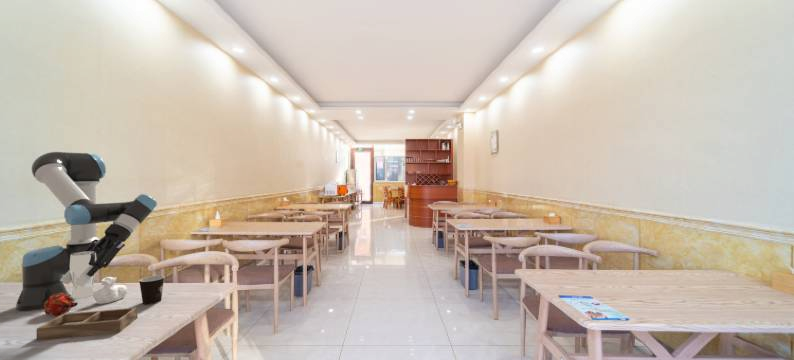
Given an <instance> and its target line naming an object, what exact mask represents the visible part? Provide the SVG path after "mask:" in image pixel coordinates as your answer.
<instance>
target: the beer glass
mask: <svg viewBox="0 0 794 360" xmlns="http://www.w3.org/2000/svg"><path fill="white" fill-rule="evenodd" d="M96 260H97V259H96V252H95V251H86V252H78V253H73V254H71V255H70V275H71V279H72V280H71V282H72V295H71V297H72V298H73V299H74V300H75V299H77V300H78V299H86V298H89V297H93V295H94V294H95V292H96V291H95V290H96V289H95V286H94V285H95V277H96V273H97V272H96V273H95V274H94V275H93V276H92V277H91V278H90V279H89V280H88V281H87V283H86V284H85V285H84V286H80V285H78V284H77V283H75V282H76V280H77V279H78V278H79V277H80V276H81V275H82V274H83V273H84V272H85V271H86V270H87V269H88V268H89V267H90V266H91V265H92V263H95V261H96ZM92 266H93V265H92Z"/></svg>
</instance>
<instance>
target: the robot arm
mask: <svg viewBox="0 0 794 360" xmlns="http://www.w3.org/2000/svg"><path fill="white" fill-rule="evenodd" d="M106 171H107V168H106V163H105V161H104V159H103V158H102V157H101V156H100V155H98V154H95V153H88V152H87V153H86V152H85V153H83V152H66V151H63V152H62V151H51V152H46V153H44V154H42V155H40V156H38V157H37V158H36V159H35V160H34V161H33V163H32V165H31V174H32V176H33V177H34V178H35V179H36V181H38V182H39V183H41V184H44V185H45V186H46V187H47V188H48V189H49V191H50V192H51V193H52V194H53V195H54V196H55V198H57V200H58V201H59V202H60V203H61V204H62V205H63V207H64V208H65V209H64V214H63V215H64V219H65V222H66V224H67V225H70V240H68V241H67V242H66V243H65V244H66V245H65V247H63V246H62V245H53V246H45V247H40V248H37V249H33V250H29V251H28V252H26V253H24V254H23V256H22V262H21V267H22V273H21V274H22V290H21V291H20V294H19V296H18V299H17V302H16V304H15V309H16V311H23V312H24V311H36V310H41V309H42V310H43V309H45V308H44V303H45V302H46V300H48V299H49V298H50V297H51V296H52V295H53V294H57V293H64V294H69V292H68V290H67V288H66V286H65V284H66V285H69V284H70V283H71V282H72V279H71V275H70V255H71V254H73V253H78V252H86V251H95V252H96V259H97V260H96V261H95V263H92V265H93V266H92V265H91V266H90V267H89V268H88V269H87V270H86V271H85V272H84V273H83V274H82V275H81V276H80V277H79V278H78V279H77V280H76V282H75V283H77V284H78V285H80V286H84V285H85V284H86V283H87V281H88V280H89V279H90V278H91V277H92V276H93V275H94V274H95V273H97V272H98V271H99V270H101V269H102V268H103V269H105V268H107V267H108V266H109V265H110V263H111V262H112V261H113V260H114V258H116V256H117V255H118V254H119V252H120V250H122V249H123V248H124V247H125V245H126V244H125V243H124V242H126V241H127V240H128V239H129V238H130V236H131V235H132V233H134V231H136V230H137V228H138V227H139V226H140V225H141V224H142V223H143V222H144V221H145V220H146V219H147V217H149V215H150V214H152V212H153V211H154V210H155V208H156V207H157V205H158V201H156V199H155V198H153V197H152V196H150V195H148V194H146V193H144V194H143V193H142V194H138V196H136V197H135V198H134V199H133V200H130V201H124V202H107V203H97V198H96V197H97V196H96V195H97V194H96V186H97V185H98V184H99V183H101V181H100V180H101V179H103V178H104V177H105V176H106ZM111 222H112V223H111ZM99 223H101V224H102V223H111V224H110V225H108V227H107V228H106V229H105V230H104V236H103V237H102V238H99V237H98V235H97V224H99ZM95 275H96V274H95Z"/></svg>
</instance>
